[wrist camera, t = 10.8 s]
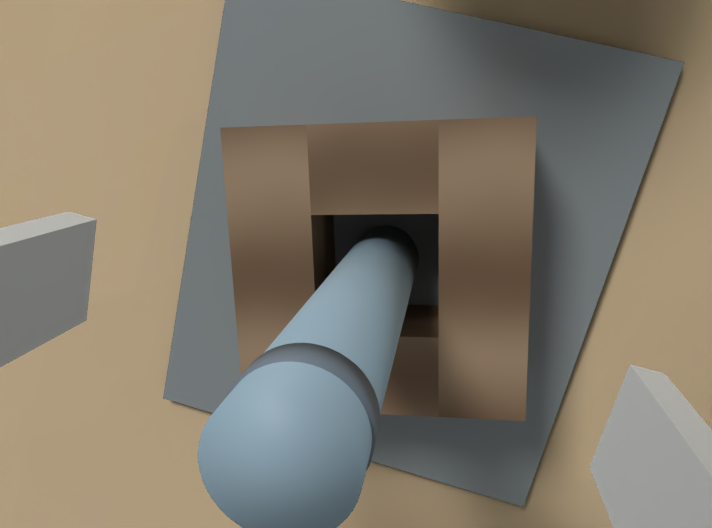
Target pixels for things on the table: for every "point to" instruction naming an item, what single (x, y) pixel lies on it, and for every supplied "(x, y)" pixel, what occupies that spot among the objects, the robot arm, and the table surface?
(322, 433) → the round-tipped blue rod
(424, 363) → the wooden block with hole
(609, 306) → the table surface
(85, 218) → the robot arm
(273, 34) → the mat
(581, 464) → the table surface
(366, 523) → the table surface
